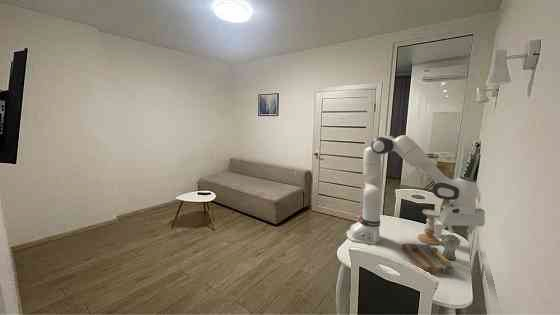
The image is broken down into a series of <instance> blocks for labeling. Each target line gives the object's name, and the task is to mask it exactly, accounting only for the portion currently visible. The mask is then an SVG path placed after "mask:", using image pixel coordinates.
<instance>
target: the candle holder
mask: <svg viewBox="0 0 560 315" xmlns="http://www.w3.org/2000/svg"><path fill="white" fill-rule="evenodd" d="M421 213H422V214H424V215H426V217H427V218H426V224H425V225H424V230H423V231H424V233H420V234H418V235H417V239H418V240H419V242H420V241H421V242H422V243H423V244H425V245H430V246H437V245H438V246H439V245H440V243H441V242H440V239H439V238H438V237H435V236H433V234H434V233H435V232H434V229H435V227H434V223H435V220H436V219H435V218H440V213H441V212H439V211H437V210H433V209H423V210H422V212H421Z"/></svg>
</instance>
